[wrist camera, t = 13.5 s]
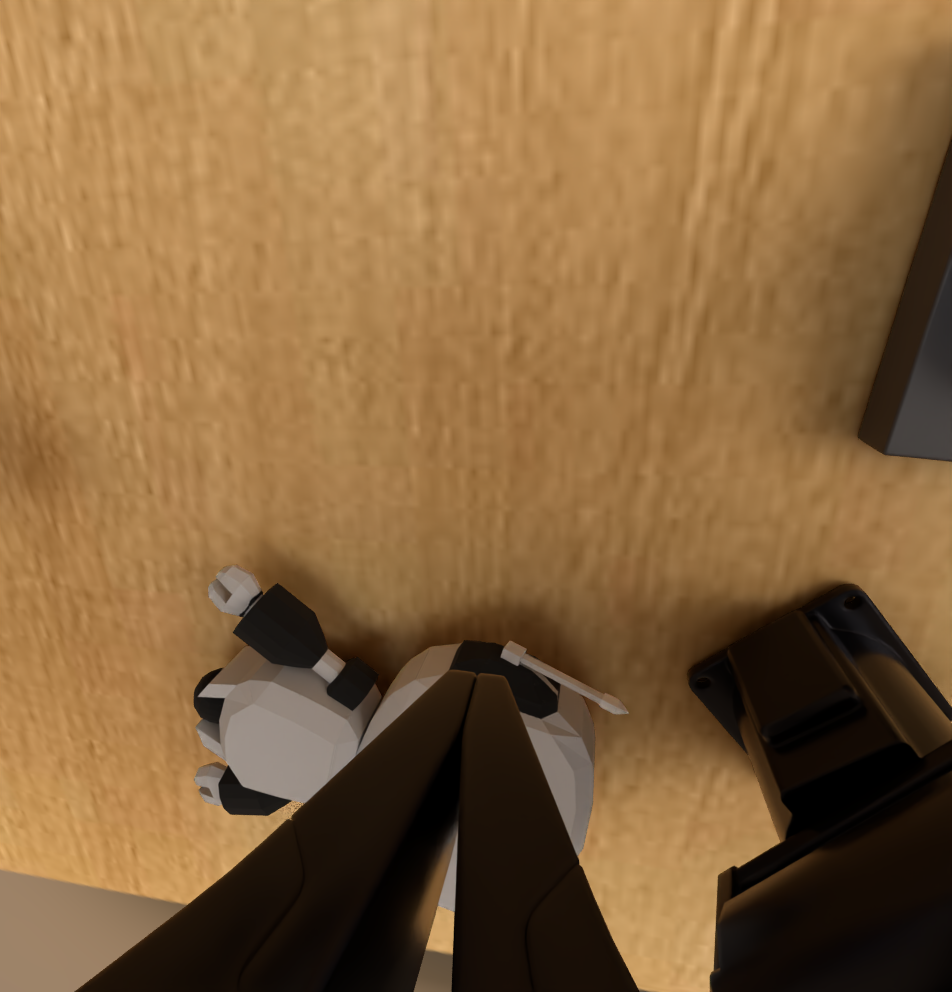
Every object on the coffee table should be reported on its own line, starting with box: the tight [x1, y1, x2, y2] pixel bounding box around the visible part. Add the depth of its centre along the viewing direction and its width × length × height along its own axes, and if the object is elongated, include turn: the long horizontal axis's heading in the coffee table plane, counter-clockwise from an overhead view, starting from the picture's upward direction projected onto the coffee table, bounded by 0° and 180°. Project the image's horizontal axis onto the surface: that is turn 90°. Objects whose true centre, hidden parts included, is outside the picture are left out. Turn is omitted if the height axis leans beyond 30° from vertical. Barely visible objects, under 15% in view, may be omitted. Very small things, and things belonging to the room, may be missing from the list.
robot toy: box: [194, 565, 629, 912], centre depth 23 cm, size 12×4×15 cm
